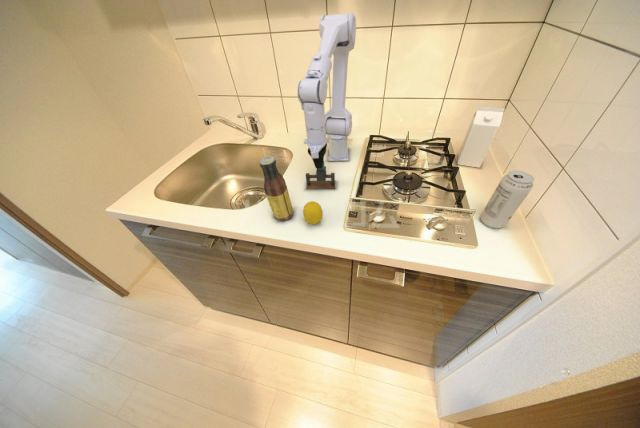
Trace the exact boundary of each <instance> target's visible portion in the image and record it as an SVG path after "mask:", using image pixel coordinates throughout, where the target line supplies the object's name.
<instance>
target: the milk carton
mask: <svg viewBox="0 0 640 428" xmlns="http://www.w3.org/2000/svg"><path fill="white" fill-rule="evenodd" d="M505 110H506V108H502V107H488V106H487V107H486V106H478V107H477V108H476V111H475V112H474V113H473V116H472V118H471V120H470V121H471V122H470V124H469V127H468V129H467V130H466V131H467V132H466V134H465V137H464V139H463V142H462V143H461V144H462V145H461V147H460V150H459V151H458V156H457V165H460V166H464V167H465V166H466V167H473V168H481V166H482V164H483V162H484V160H485V158H486V155H487V154H488V152H489V149H490V148H491V145H492V143H493V141H494V139H495V136H497V133H498V131H499V128H500V127H501V122H502V119H503V116H504V113H505Z"/></svg>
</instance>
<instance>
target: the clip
mask: <svg viewBox="0 0 640 428" xmlns="http://www.w3.org/2000/svg"><path fill="white" fill-rule="evenodd" d="M325 174H327V166H326V165H325V160H323V167H322V168H316V169H315V175H316V177H317V178H316V181H327V178H326V175H325Z"/></svg>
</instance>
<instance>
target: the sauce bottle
mask: <svg viewBox="0 0 640 428" xmlns="http://www.w3.org/2000/svg"><path fill="white" fill-rule="evenodd" d="M258 163H259V167H260V168H261V170H262V173H263V179H264V181H263V190H264V191H263V192H264V194H265V196H266V198H267V201H268V204H269V208H270V210H271V213H272V215H273V217H274V219H275V220H277V221H279V222H286V221H287V220H290V219H292V217H293V214H294V209H293V205H292V200H291V197H290V194H289V189H288V186H287V184H286V180H285V178H284V176H283V175H282V173H280V172H279V170H278V167H277V161H276V158H275V156H272V155H266V156H263V157H261V158H260V159H259V161H258Z"/></svg>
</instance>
